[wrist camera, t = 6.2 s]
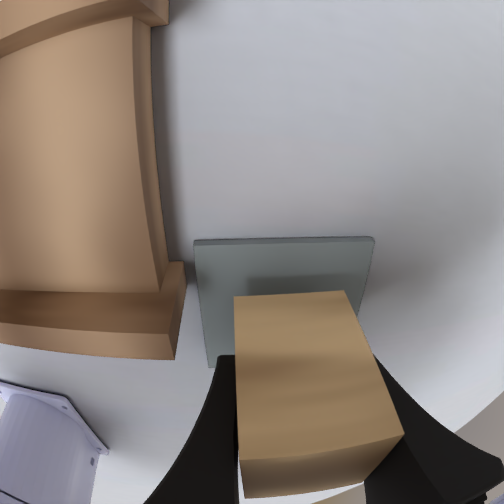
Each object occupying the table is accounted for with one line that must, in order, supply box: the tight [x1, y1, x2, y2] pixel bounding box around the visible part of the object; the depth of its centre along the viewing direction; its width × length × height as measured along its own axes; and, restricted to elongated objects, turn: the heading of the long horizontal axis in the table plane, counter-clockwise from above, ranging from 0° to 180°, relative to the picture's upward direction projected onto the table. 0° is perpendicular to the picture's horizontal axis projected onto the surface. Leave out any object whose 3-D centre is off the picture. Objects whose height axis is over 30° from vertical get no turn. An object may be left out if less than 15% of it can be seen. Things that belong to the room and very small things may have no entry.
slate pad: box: [193, 237, 375, 368], centre depth 14 cm, size 7×7×1 cm
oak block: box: [234, 290, 404, 499], centre depth 10 cm, size 4×4×6 cm
